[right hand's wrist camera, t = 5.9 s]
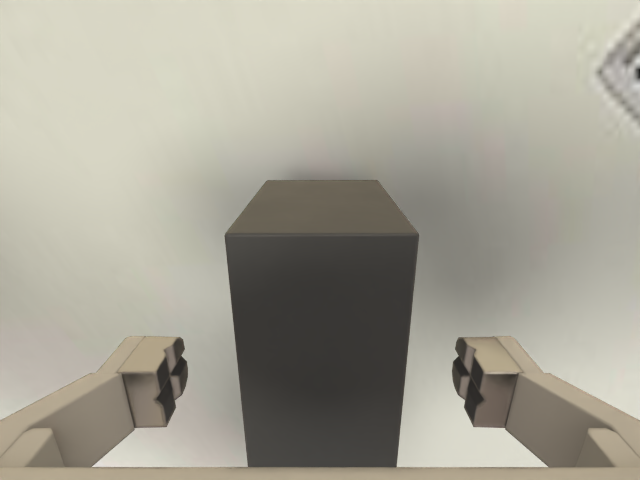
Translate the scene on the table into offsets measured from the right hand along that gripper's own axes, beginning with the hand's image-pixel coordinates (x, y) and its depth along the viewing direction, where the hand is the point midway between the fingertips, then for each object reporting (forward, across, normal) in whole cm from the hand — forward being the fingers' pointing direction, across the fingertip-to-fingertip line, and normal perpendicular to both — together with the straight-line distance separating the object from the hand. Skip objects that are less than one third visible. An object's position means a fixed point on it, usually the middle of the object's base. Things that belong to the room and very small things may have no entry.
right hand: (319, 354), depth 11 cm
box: (+10, 0, -8) cm, 13 cm away
